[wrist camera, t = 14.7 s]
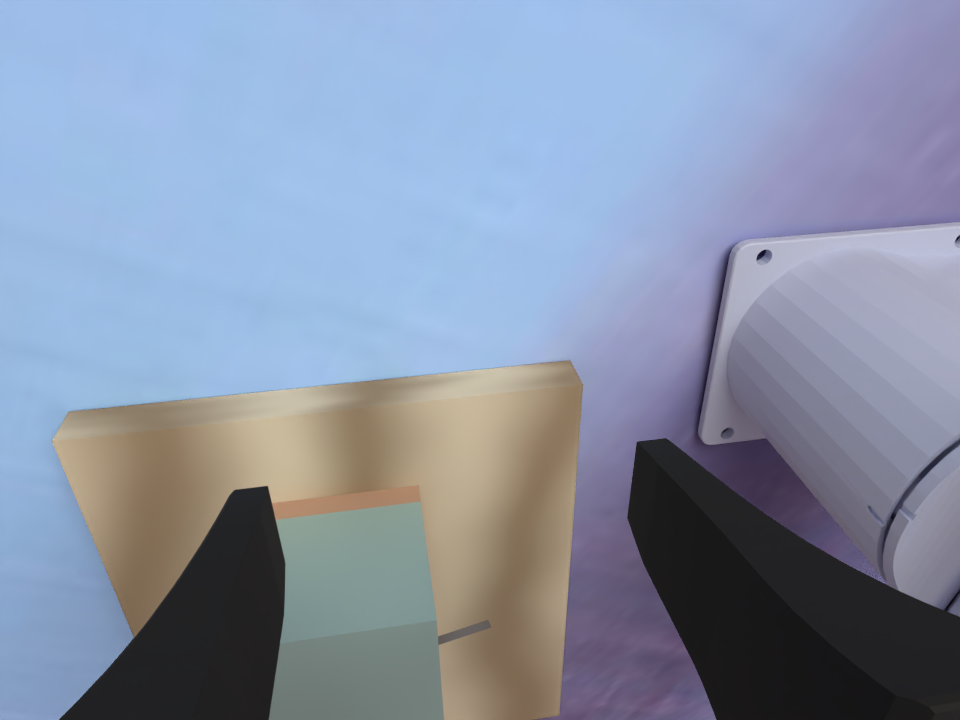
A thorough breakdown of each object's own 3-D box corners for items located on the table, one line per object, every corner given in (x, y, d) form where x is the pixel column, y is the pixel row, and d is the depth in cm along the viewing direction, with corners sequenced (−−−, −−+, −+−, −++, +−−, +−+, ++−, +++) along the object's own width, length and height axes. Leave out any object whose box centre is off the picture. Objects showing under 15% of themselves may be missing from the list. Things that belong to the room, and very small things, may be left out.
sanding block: (418, 485, 24) (437, 620, 19) (432, 655, 28) (449, 796, 24) (265, 504, 23) (246, 648, 18) (305, 675, 28) (298, 824, 23)
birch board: (570, 360, 24) (582, 384, 23) (550, 685, 33) (559, 715, 32) (68, 411, 22) (51, 441, 21) (198, 743, 31) (192, 777, 30)
